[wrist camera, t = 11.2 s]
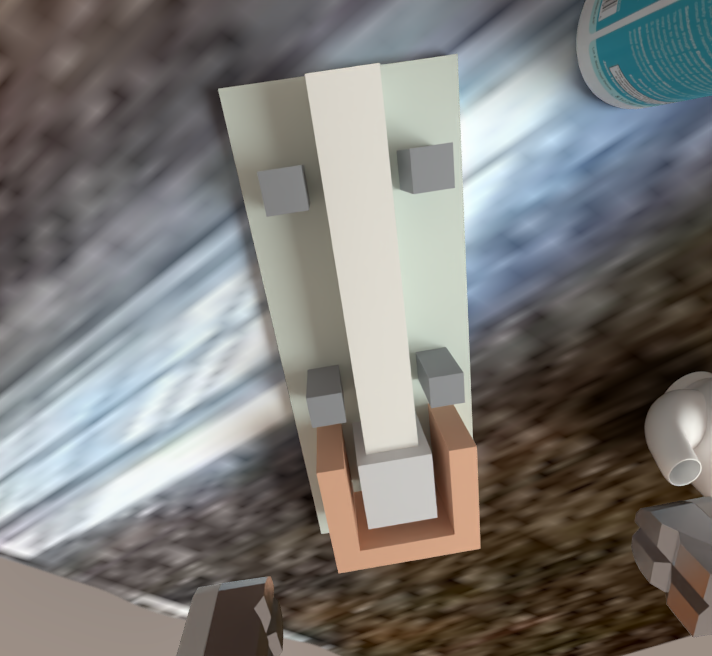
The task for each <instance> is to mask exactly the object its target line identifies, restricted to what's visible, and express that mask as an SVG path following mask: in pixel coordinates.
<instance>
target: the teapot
mask: <svg viewBox="0 0 712 656" xmlns="http://www.w3.org/2000/svg"><path fill="white" fill-rule="evenodd" d="M644 432H645V439H646V443H647V446H648V448H649V451H650V453H651V454H652V456H653V458H654V460H655V462H656V463H657V465H658V467H659V469H660V471H661V473H662V474H663V476H664V477H665V478H666V479H667V481H669V482H670V483H671V484H673V485H676V486H682V485H686V484H689V483H692V485H693V486H694V487H695V488H696V489H697V490H698V491H699V492H700V493H701V494H702V495H703V496H704V497H708V496H710V497H712V373H710V372H704V371H700V372H694V373H690V374H687V375H685V376H683V377H681V378H680V379H678V380H677V381H675V382H674V383H673V384H672V385H671V386H670V387H669V388H668V389H667V391H666V392H665V394H663V395H662V396H660V397H659V398H658V399H657V400H656V401H655V402H654V403H653V404H652V405H651V407H650V408H649V410H648V413H647V415H646V419H645V425H644Z"/></svg>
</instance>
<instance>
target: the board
mask: <svg viewBox="0 0 712 656" xmlns="http://www.w3.org/2000/svg"><path fill="white" fill-rule="evenodd" d="M380 71H381V81H382V91H383V100H384V110H385V120H386V130H387V140H388V150H389V160H390V170H391V180H392V189H393V199H394V209H395V219H396V229H397V239H398V249H399V259H400V268H401V278H402V288H403V298H404V308H405V318H406V328H407V338H408V347H409V357H410V367H411V377H412V387H413V397H414V407H415V412H416V414H417V417H418V419H419V422H420V424H421V427H422V429H423V432H424V435H425V437H426V440H427V442H428V445H429V448H430V450H431V453H432V460H433V472H434V483H435V495H436V506H437V518H432V519H426V520H421V521H415V522H409V523H403V524H397V525H392V526H386V527H380V528H374V529H368V523H367V518H366V512H365V506H364V500H363V495H362V489H361V483H360V477H359V472H358V466H357V458H356V450H355V442H354V434H353V426H352V423H353V422H359V421H361V419H360V413H359V407H358V401H357V395H356V389H355V382H354V376H353V370H352V364H351V358H350V351H349V345H348V339H347V333H346V327H345V320H344V314H343V308H342V302H341V296H340V289H339V283H338V277H337V271H336V265H335V258H334V252H333V246H332V240H331V234H330V227H329V221H328V215H327V209H326V203H325V196H324V190H323V184H322V178H321V172H320V165H319V159H318V153H317V147H316V141H315V134H314V128H313V122H312V116H311V110H310V103H309V97H308V91H307V85H306V79H305V76H302V77H296V78H289V79H282V80H275V81H268V82H261V83H254V84H248V85H241V86H234V87H227V88H220V89H218V91H219V96H220V100H221V104H222V109H223V113H224V117H225V121H226V126H227V130H228V134H229V139H230V143H231V147H232V151H233V156H234V160H235V164H236V169H237V173H238V177H239V182H240V186H241V190H242V194H243V199H244V203H245V207H246V212H247V216H248V220H249V225H250V229H251V233H252V237H253V242H254V246H255V250H256V255H257V259H258V263H259V267H260V272H261V276H262V280H263V285H264V289H265V293H266V298H267V302H268V306H269V310H270V315H271V319H272V323H273V328H274V332H275V336H276V340H277V345H278V349H279V353H280V358H281V362H282V366H283V371H284V375H285V379H286V383H287V388H288V392H289V396H290V401H291V405H292V409H293V414H294V418H295V422H296V426H297V431H298V435H299V439H300V444H301V448H302V452H303V456H304V461H305V465H306V469H307V474H308V478H309V482H310V487H311V491H312V495H313V499H314V504H315V508H316V512H317V517H318V521H319V525H320V530H321V534H324V533H330V537H331V541H332V546H333V550H334V555H335V559H336V564H337V568H338V573H344V572H350V571H355V570H361V569H367V568H372V567H378V566H384V565H390V564H395V563H401V562H407V561H412V560H418V559H424V558H429V557H435V556H441V555H447V554H452V553H458V552H464V551H469V550H475V549H480V522H479V495H478V467H477V446H476V444H475V442H474V440H473V431H472V406H471V381H470V356H469V331H468V306H467V281H466V256H465V231H464V206H463V181H462V155H461V130H460V105H459V80H458V55H457V54H453V55H446V56H439V57H433V58H426V59H419V60H412V61H405V62H398V63H391V64H385V65H380Z"/></svg>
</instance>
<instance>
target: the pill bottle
mask: <svg viewBox="0 0 712 656" xmlns="http://www.w3.org/2000/svg"><path fill="white" fill-rule="evenodd" d="M576 52H577V60H578V64H579V68H580V71H581V74H582V76H583V79H584V81H585V82H586V84H587V86H588V87H589V88H590V90H591V91H592V92H593V93H594V94H595V95H596V96H597V97H598V98H600V99H601V100H603V101H604V102H606V103H608V104H610V105H612V106H615V107H619V108H625V109H640V108H646V107H652V106H658V105H663V104H669V103H674V102H679V101H685V100H690V99H695V98H700V97H706V96H711V95H712V0H586V1H585V3H584V6H583V9H582V12H581V15H580V18H579V23H578V28H577V36H576Z"/></svg>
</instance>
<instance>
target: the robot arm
mask: <svg viewBox="0 0 712 656" xmlns="http://www.w3.org/2000/svg"><path fill="white" fill-rule="evenodd" d="M635 522H636V523H637V524H638V526H639V527H640V529H639V530H638V531H637V532H636V533H635V534H634V535H633V536H632V546H631V548H632V552H633V555H634V558H635V561H636V563H637V565H638V567H639V568H640V570H641V572H642V573H643V575H644V576H645V577H646V578H647V580H648V581H649V582H650V583H651V584H652V585H654V586H656V587H657V588H659V589H661V590H663V591H664V592H665V594H666V604H667V605H668V607H669V608H670V609H671V610H672V612H673V613H674V614H675V615H676V617H677V618H678V619H679V620H680V622H681V623H682V624H683V625H684V627H685V628H686V629H687V630H688V632H689V633H690V634H691V635H692V637H699V636H705V635H712V497H710V496H708V497H701V498H696V499H691V500H686V501H677V502H672V503H666V504H661V505H656V506H651V507H646V508H641V509H640V510H639V511H638V512H637V513H636V518H635ZM273 593H274V585H273V582H272V580H271V577H270V576H269V577H262V578H256V579H249V580H243V581H236V582H229V583H222V584H217V585H211V586H205V587H199V588H198V589H197V591H196V593H195V594H194V596H193V599H192V602H191V606H190V609H189V613H188V616H187V620H186V623H185V627H184V631H183V634H182V638H181V641H180V645H179V648H178V652H177V655H176V656H280V654H281V653H282V648H283V619H282V613H281V607H280V604H279V601H278V600H277V599H275V598H273Z"/></svg>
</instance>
